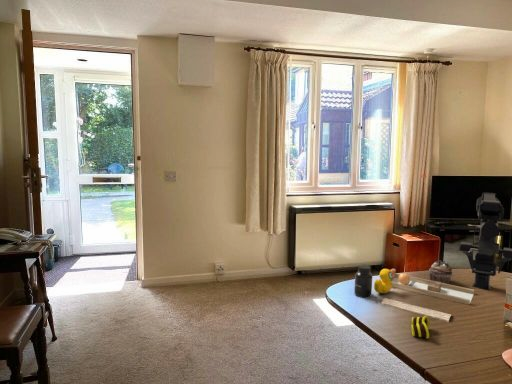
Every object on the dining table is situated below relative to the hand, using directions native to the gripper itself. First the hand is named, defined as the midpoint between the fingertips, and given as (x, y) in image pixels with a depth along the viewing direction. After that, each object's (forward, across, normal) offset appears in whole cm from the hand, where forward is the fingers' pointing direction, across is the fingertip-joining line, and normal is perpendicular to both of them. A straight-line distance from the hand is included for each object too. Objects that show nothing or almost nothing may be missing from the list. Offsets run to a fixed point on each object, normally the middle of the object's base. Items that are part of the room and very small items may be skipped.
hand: (485, 270), depth 146 cm
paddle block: (+10, -19, -4) cm, 22 cm away
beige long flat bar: (+13, -19, -27) cm, 35 cm away
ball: (+11, -28, -4) cm, 30 cm away
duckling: (+12, -34, -18) cm, 40 cm away
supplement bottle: (+12, -40, -26) cm, 49 cm away
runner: (+12, -20, -3) cm, 23 cm away
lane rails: (+12, -20, -3) cm, 23 cm away
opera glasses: (+12, -13, -45) cm, 48 cm away
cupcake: (+12, -18, +11) cm, 24 cm away
